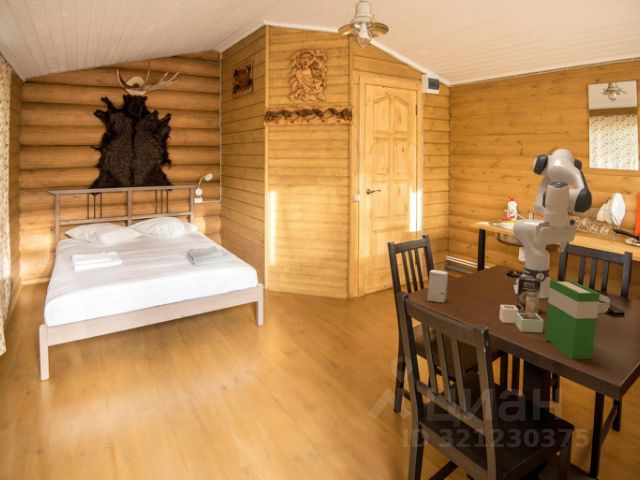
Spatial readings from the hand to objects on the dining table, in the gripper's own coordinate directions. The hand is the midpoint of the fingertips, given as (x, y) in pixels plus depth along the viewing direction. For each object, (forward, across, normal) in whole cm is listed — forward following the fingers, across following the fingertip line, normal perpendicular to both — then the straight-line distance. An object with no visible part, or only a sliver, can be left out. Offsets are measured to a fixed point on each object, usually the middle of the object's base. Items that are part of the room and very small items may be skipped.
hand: (552, 253), depth 188 cm
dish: (+31, +32, +8) cm, 45 cm away
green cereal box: (+29, -18, -25) cm, 42 cm away
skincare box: (+30, -28, +40) cm, 58 cm away
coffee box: (+30, 0, +10) cm, 32 cm away
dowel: (+28, -17, -6) cm, 34 cm away
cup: (+29, -18, +4) cm, 35 cm away
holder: (+29, -17, -6) cm, 34 cm away
